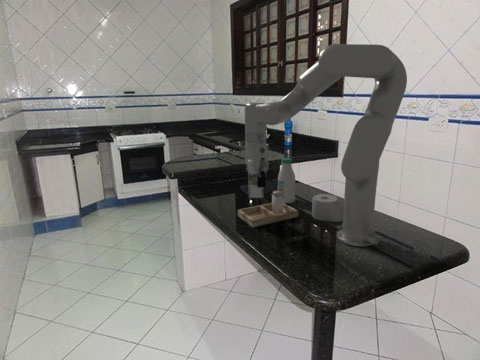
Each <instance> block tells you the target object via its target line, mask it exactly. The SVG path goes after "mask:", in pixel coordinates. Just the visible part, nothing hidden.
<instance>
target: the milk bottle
mask: <svg viewBox="0 0 480 360" xmlns="http://www.w3.org/2000/svg"><path fill="white" fill-rule="evenodd" d="M280 160H281V168H280V170H279V173H278V175H277V176H278V177H277V178H278V191H282V192H283V203H284V204H292V203H294V202H295V201H296V174H295V172H294V169H293V166H292V164H293V158H290V157H283V158H281V159H280Z"/></svg>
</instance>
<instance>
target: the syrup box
mask: <svg viewBox="0 0 480 360" xmlns="http://www.w3.org/2000/svg"><path fill="white" fill-rule="evenodd" d="M259 168H263V166H262V165H261V164H260V167H259ZM262 171H263V170H261V171H260V173H261V172H262ZM247 172H248V182H247V183H248V184H247V185H248V193H249V196H248V199H264V197H265V196H264V187H260V188H258V187H257V177H259V176H258V173H257V170H255V169H254V167H253V162H252V161H251V160H249V159H248V171H247Z"/></svg>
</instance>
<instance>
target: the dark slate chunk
mask: <svg viewBox="0 0 480 360" xmlns="http://www.w3.org/2000/svg"><path fill="white" fill-rule="evenodd" d="M239 188H240V190H241V191H242V192H243V194H245V195H246V196H248V197H249V193H248V184H244V185H240V187H239ZM273 191H278V177H277V178H273V179H270V180H269V179H266V186H265V187H264V194H266V195H271V194H270V193H273Z"/></svg>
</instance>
